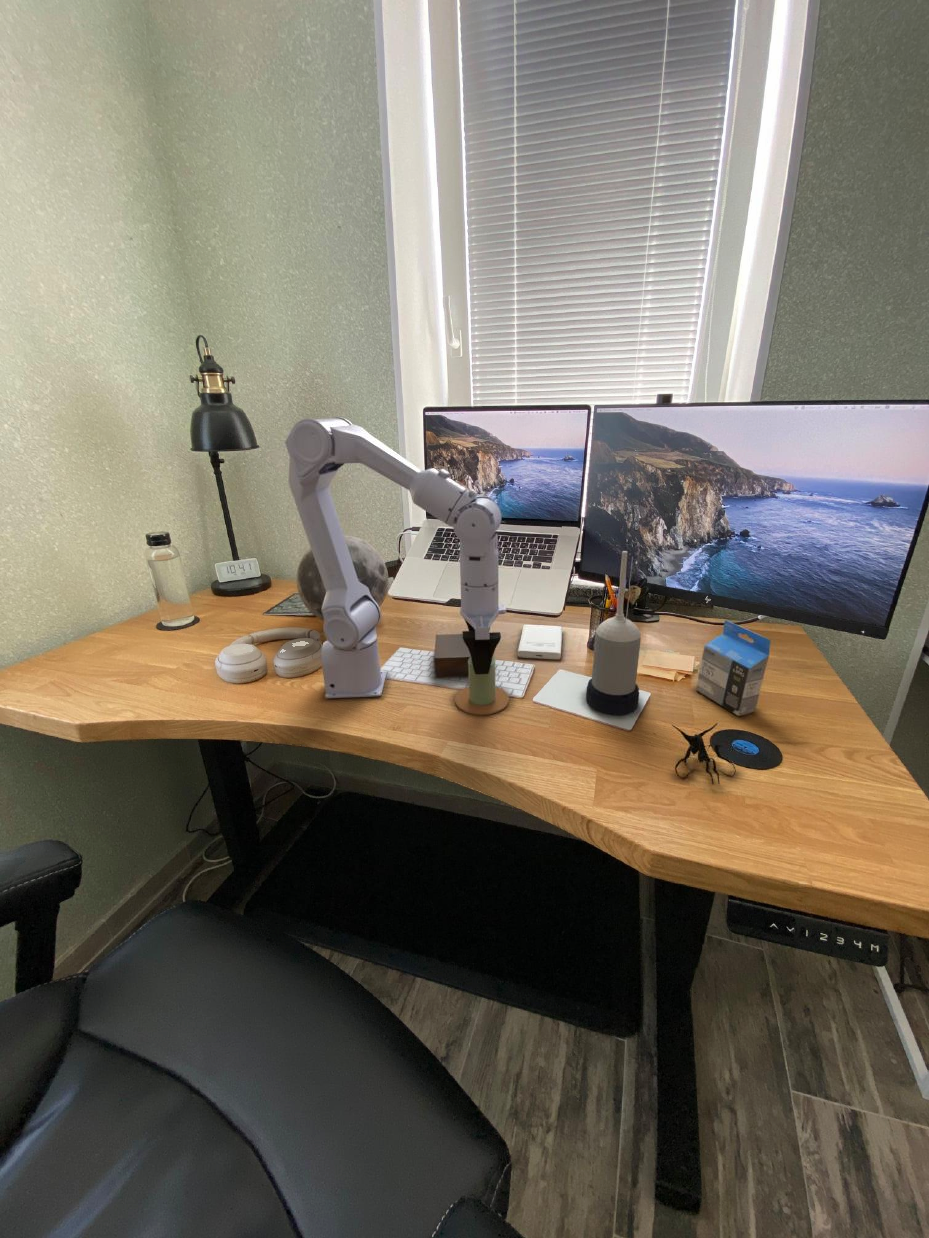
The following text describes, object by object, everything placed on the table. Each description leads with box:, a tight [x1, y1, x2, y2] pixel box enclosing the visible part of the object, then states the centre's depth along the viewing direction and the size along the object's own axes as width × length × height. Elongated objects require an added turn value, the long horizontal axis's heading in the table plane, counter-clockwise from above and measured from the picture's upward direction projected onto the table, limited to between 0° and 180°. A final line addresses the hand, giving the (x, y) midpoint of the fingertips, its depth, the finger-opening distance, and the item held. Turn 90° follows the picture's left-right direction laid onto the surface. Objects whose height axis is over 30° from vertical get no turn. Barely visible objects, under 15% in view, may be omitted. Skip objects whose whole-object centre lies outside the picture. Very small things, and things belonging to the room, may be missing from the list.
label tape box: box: [695, 619, 771, 717], centre depth 79 cm, size 9×4×12 cm, turn 21°
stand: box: [433, 633, 471, 679], centre depth 95 cm, size 10×10×4 cm
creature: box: [671, 722, 737, 786], centre depth 65 cm, size 8×5×8 cm
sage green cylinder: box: [467, 656, 496, 705], centre depth 82 cm, size 4×4×7 cm
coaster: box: [454, 685, 510, 716], centre depth 84 cm, size 9×9×1 cm
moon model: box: [295, 534, 389, 622], centre depth 113 cm, size 20×20×20 cm
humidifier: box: [585, 550, 642, 717], centre depth 77 cm, size 8×8×25 cm
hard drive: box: [517, 624, 563, 660], centre depth 102 cm, size 2×8×12 cm
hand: (480, 661), depth 81 cm, fingers open, 7 cm apart
